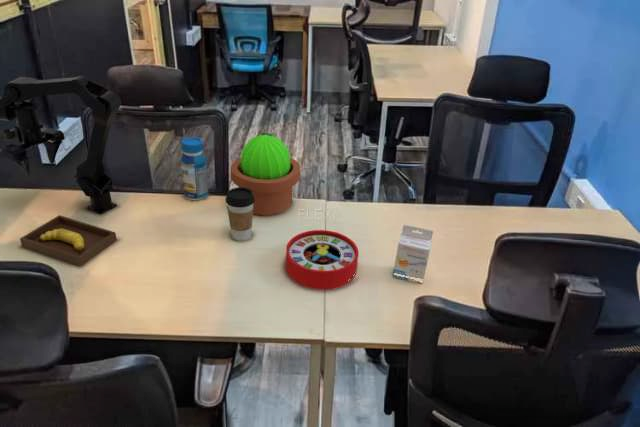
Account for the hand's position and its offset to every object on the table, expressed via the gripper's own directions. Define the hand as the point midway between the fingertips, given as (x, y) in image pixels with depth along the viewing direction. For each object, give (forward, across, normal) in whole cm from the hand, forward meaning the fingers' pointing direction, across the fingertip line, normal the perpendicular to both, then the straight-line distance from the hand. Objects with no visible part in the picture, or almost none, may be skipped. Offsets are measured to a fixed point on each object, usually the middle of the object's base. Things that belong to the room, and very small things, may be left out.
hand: (40, 168), depth 158 cm
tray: (+12, +15, +23) cm, 30 cm away
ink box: (+12, -13, +116) cm, 118 cm away
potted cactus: (+12, -31, +63) cm, 71 cm away
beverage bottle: (+12, -26, +39) cm, 48 cm away
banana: (+11, +16, +23) cm, 30 cm away
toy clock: (+12, -6, +93) cm, 94 cm away
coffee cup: (+12, -11, +65) cm, 67 cm away
